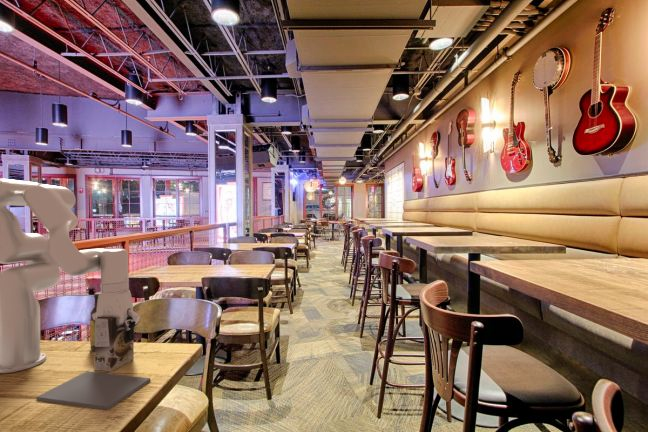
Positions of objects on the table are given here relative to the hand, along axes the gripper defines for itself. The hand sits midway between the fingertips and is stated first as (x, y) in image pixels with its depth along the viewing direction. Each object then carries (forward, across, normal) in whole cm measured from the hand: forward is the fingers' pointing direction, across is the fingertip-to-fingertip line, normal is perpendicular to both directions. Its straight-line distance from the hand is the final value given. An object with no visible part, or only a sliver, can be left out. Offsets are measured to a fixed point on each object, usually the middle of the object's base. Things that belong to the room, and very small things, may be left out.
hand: (116, 340), depth 102 cm
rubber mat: (+8, +7, -14) cm, 18 cm away
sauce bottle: (+7, -17, +10) cm, 21 cm away
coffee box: (+8, -1, 0) cm, 8 cm away
